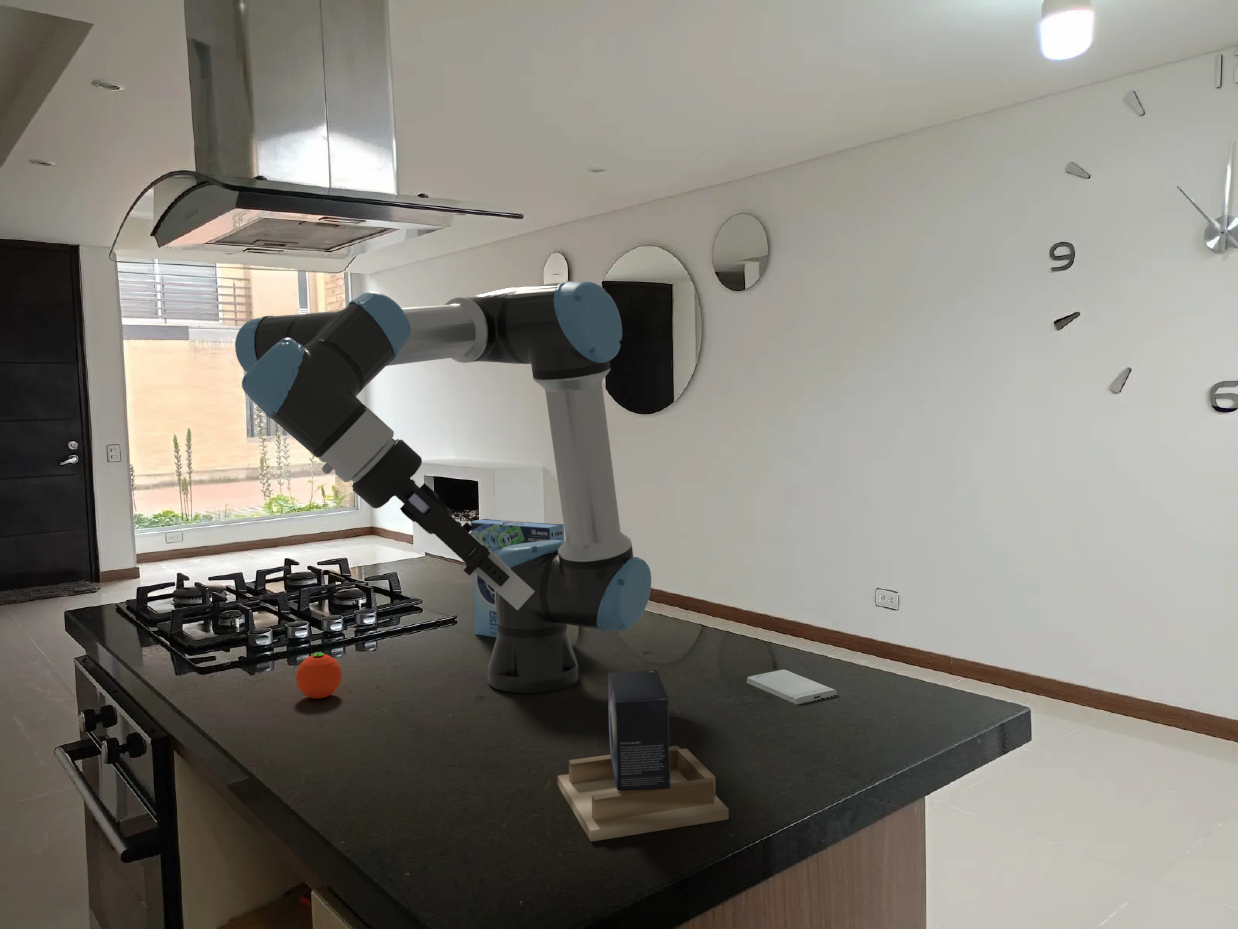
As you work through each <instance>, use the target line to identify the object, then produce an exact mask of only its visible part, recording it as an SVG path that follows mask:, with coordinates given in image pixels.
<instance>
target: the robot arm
mask: <svg viewBox="0 0 1238 929" xmlns="http://www.w3.org/2000/svg"><path fill="white" fill-rule="evenodd" d="M619 312H620V311H619V309H618V307H617V304H616V302H615V300H614V299H613V298H612V296H611V295H610V294H609V293H608V292H607V291H606V289H605V288H604V287H603V286H601V285H599V284H597V283H595V282H592V281H574V280H566V281H562V282H553V283H545V284H544V283H543V284H534V285H525V286H522V285H521V286H511V287H507V288H502V289H497V290H493V291H490V292H485V293H481V294H476V295H471V296H460V297H454V298H452V299H449V300H447V302H446V303H445V304H444V305H442V304H441V305H429V306H428V305H427V306H411V307H401V306H400V305H399V303H398V302H396V301H395V300H393V299H392V298H391V297H389V296H387V295H386V294H384V293H381V292H377V291H366V292H363V293H362V294H361V295H359V296H358V297H356V298H355V299H352V300H350V301H349V302H348V305H347V306H346V307H345V308H342V309H340V310H330V311H322V312H321V311H320V312H310V313H309V312H308V313H303V314H302V313H300V314H285V315H263V316H262V317H257V318H256V317H255V318H253V319H250V320H248V321H246V322H245V323H244V324H243V325H242V326H241V327H240V329H239V330H238V332H237V335H236V337H235V343H234V347H235V349H234V350H235V355H236V359H237V360H238V363H239V364H240V367H241V368H242V369H243V370H244V371H245V372H246V373H245V374H244V376H243V378H242V380H241V388H242V390H243V392H244V393H245V394H246V395H247V396H248V398H250V400H251V401H252V402H253V403H254V404H255V405H256V406H257V407H258V408H259V409H260V410H261V411H262V412H263V413H264V414H265V416H266V417H267V418H269V419H272V421H274V422H275V424H277V425H279V426H280V428H282V429H283V430H284V431H285V432H287V434H288V435H290V436H291V437H292V438H294V439H295V441H297V442H298V443H299V444H300V445H302V446H303V447H304V448H305V449H306V450H308V451H309V452H310V453H311V454H312V455H313V456H314V457H315V458H317V459H318V460H319V462H321V463H325V464H324V465H323V466H322V467H321V470H322V472H323V473H324V474H326V475H328V474H330V473H331V472H332V471H334V475H336V477H338V478H339V479H340V480H341V481H343V483H349V482H353V484H352V485H351V487H352V491H353V492H354V493H355V494H356V495H358V496H359V497H360V498H361V499H362V500H363V501H364V502H365V503H367V504H368V505H369V507H371V508H373V509H379V508H381V507H383V506H385V505H386V504H387V503H388V502H390V500H391V499H392V498H393V497H396V498H397V499H398V500H399V501H401V503H403V505H402V506H401V507H400V508H399V510H400V511H401V513H402V514H403V515H404V516H406V517H407V519H409V520H410V521H411V522H414V523H416V524H417V525H418V526H419V527H420V528H421V529H423V530H424V531H425V532H426V533H427V534H428V535H435V536H436V537H437V538H438V539H439V540H440V541H441V542H442V543H444V545H446V546H447V547H448V548H449V549H450V550H451V551H452V552H453V553H454V554H456V556H458V557H459V558H460V559H461V560H462V561H463V562H464V563H465V565H466V566H465V568H464V569H463V572H465V573H466V574H467V575H468V576H471V575H473V572H475V573H476V574H477V575H479V576H480V577H481V578H482V579H483V580H484V581H485V582H486V583H487V584H489V585H490V586H491V587H492V588H493V589H494V590H495V591H496V608H497V638H496V639H495V643H494V645H493V650H492V653H491V656H490V660H489V663H488V666H487V683H488V685H489V686H491V688H494V689H495V690H499V691H503V692H508V693H516V694H538V693H539V694H540V693H548V692H553V691H554V692H555V691H558V690H563V689H565V688H568V687H570V686H572V685H573V684H576V682H578V681H579V664H578V660H577V658H576V655H575V652H574V649H573V646H572V643H571V640H570V637H569V635H568V625H570V626H577V627H582V628H589V629H595V630H599V631H601V632H607V631H612V632H625V631H628V630H629V629H631V628H633V627H634V626H635V625H636V624H637V623H638V622H639V620H640V619H641V617H642V616H643V615H644V612H645V610H646V607H647V605H648V602H649V599H650V595H651V591H652V590H651V589H652V574H651V573H652V572H651V569H650V567H649V564H648V563H647V562H646V560H645V559H642V558H640V557H639V556H634V550H633V545H632V539H631V538H630V537H628V536H627V535H625V534H624V533H623V532H622V531H621V526H620V517H619V509H618V502H617V494H616V486H615V478H614V476H615V475H614V469H613V462H612V460H613V459H612V453H611V446H610V437H609V436H610V435H609V431H608V430H609V429H608V428H609V426H608V421H607V419H608V418H607V413H606V404H605V396H604V388H603V382H604V379H605V378H606V376H607V375H608V374H609V372H610V371H611V363H610V361H611V360H613V359H614V358H615V357H616V356H617V355H618V353H619V351H620V348H621V343H620V342H621V341H622V340H623V325H622V319H621V316H620V315H621V314H620V313H619ZM442 359H443V360H444V359H452V360H454V361H455V362H458V363H461V364H464V363H474V362H485V363H501V364H516V365H518V364H519V365H522V364H523V365H531V373H532V380H534V381H535V382H536V384H538V385H540V387H542V388H543V389H544V391H545V398H546V405H547V407H546V408H547V412H548V413H547V414H548V420H549V428H550V433H551V441H552V447H553V454H554V462H555V463H554V464H555V468H556V470H555V471H556V478H557V482H558V491H559V498H560V506H561V507H560V508H561V514H562V519H563V520H562V521H563V525H564V536H565V539H564V541H563V540H545V541H536V542H529V543H522V544H516V545H512V546H508V547H505V548H502V549H501V550H500V551H499V552H498V554H497V556H496V555H495V554H494V553H493V552H492V551H491V550H490V549H489V548H488V547H486V546H485V545H484V544H483V543H482V542H481V541H480V540H479V539H478V538H477V537H475V536H474V535H473V534H472V533H471V530H472V529H473V527H472V526H471V523H469V522H468V521H466V522H465V523H464V524H463V525H462V523H461V522H460V521H457V520H456V519H454V517H453V516H452V510H451V509H450V508H449V507H448V506H447V505H446V504H445V503H444V502H443V501H441V500H440V499H439V495H438V494H437V493H436V492H435V491H434V490H433V489H432V488H430V487H429V485H427V484H426V483H422V485H421V486H418V485H417V483H416V481H415V480H414V479H412V477H413V476H414V475H415V474H416V473H417V472H418V470H419V469H420V468H421V466H422V463H423V462H422V461H423V460H422V456H420V455H419V454H418V453H417V452H416V451H415V450H414V449H413V448H411V447H410V445H409V444H407V443H406V442H405V441H404V440H403V439H399V438H396V439H394V438H393V437H394V434H395V432H394V430H393V429H391V427H390V426H388V424H386V423H385V422H384V421H383V419H381V418H380V417H379V416H378V415H377V414H376V413H374V411H372V410H371V409H370V408H369V407H367V406H366V405H365V404H364V403H363V402H362V401H361V400H360V399H359V398H358V397H357V396H358V395H359V394H360V393H361V392H362V390H363V389H365V387H366V386H367V385H368V384H370V383H371V381H373V379H375V378H376V377H377V376H378V375H379V374H380V373H381V372H382V371H383V369H385V368H386V367H389V366H390V367H391V366H395V365H404V364H413V363H414V364H415V363H420V362H421V363H422V362H428V361H436V360H437V361H438V360H442Z"/></svg>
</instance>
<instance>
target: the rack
mask: <svg viewBox="0 0 1238 929" xmlns="http://www.w3.org/2000/svg"><path fill="white" fill-rule="evenodd" d="M669 753H670V778H671V788H662V789H645V790H625V791H618V790H617V787H616V782H615V777H614V771H613V766H612V760H611V755H610V754H606V755H599V756H590V757H584V758H583V757H582V758H576V759H569V760H568V774H560V775H557V786H558V789H559V790H560V792H561V794H562V795H563V797H564V799H565V800H566V803H567V804H568V805H569V807H570V809H571V810H572V812H573V814H574V815H575V818H577V820H578V823H579V824H580V826H581V828H582V829H583V831H584V832H585V834H586V835H587V837H588V839H589V841H590V842H599V841H602V840H603V841H604V840H608V839H609V840H610V839H615V838H622V837H628V836H634V835H641V834H646V833H647V834H648V833H652V832H658V831H665V830H672V829H677V828H683V827H689V826H690V827H691V826H695V825H701V824H707V823H715V822H720V821H721V822H722V821H727V820H729V819H730V818H729V816H730V814H729V812H730V810H729V807H727V806H726V804H725V803H723V801H721V799H720V798H719V797H718V796H717V795H716V776H715V775H714V774H713V773H712V772H711V771H710V770H709V769H708V768H706V766H705V765H703V763H702V762H701V761H699V759H698V758H697V757H696V756H694V754H692V752H690V750H689V749H688V748H680V746H678V745H673V746H669Z"/></svg>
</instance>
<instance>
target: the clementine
mask: <svg viewBox="0 0 1238 929" xmlns="http://www.w3.org/2000/svg"><path fill="white" fill-rule="evenodd" d="M341 668H342V667H341V666H340V664H339V662H338V661H337V660H336V659H335V658H334V657H332V656H330V655H329V654H326V653H324V652H318V653H316V652H315V653H314V654H312V655H310V656H308V657H307V658H305V659H303V661H302V662H301V663H300V664H299V666H298V668H297V670H296V674H295V680H296V686H297V687H298V689H299V690H298V691H300V692H301V693H302V694H303V695H304V696H306V697H307V698H310V699H318V700H319V699H323V698H327V697H329V696H331V695H332V694H333V693H335V692H336V690H337V689H338V688H339V686H340V684H341V681H342V676H343V674H342V669H341Z"/></svg>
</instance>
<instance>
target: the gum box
mask: <svg viewBox="0 0 1238 929" xmlns="http://www.w3.org/2000/svg"><path fill="white" fill-rule="evenodd" d="M470 525H471V526H472V527H473V529H472V530H471V531H470V533H472V534H473V535H474V536H475V537H477V538H478V539H479V540H480V541H481V542H482V543H483V544H484V545H485V546H486V547H488V548H489V549H490V550H491V551H492V552H493V553H494V554H495V555H496V556H497V554H498V552H499V551H500V550H501V549H502V548H505V547H508V546H512V545H516V544H522V543H529V542H536V541H545V540H563V541H565V528H564V523H544V522H531V521H516V520H515V521H514V520H501V519H489V518H483V519H477V520H473V521H470ZM472 582H473V583H472V585H473V586H472V587H473V590H472V591H473V609H474V610H473V611H474V612H473V613H474V616H473V617H474V634H475V635H478V636H484V637H490V638H496V639H497V608H496V591H495V590H494V589H493V588H492V587H491V586H490V585H489V584H487V583H486V582H485V581H484V580H483V579H482V578H481V577H480V576H479V575H477V574H476V573H475V572H473V573H472Z"/></svg>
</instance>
